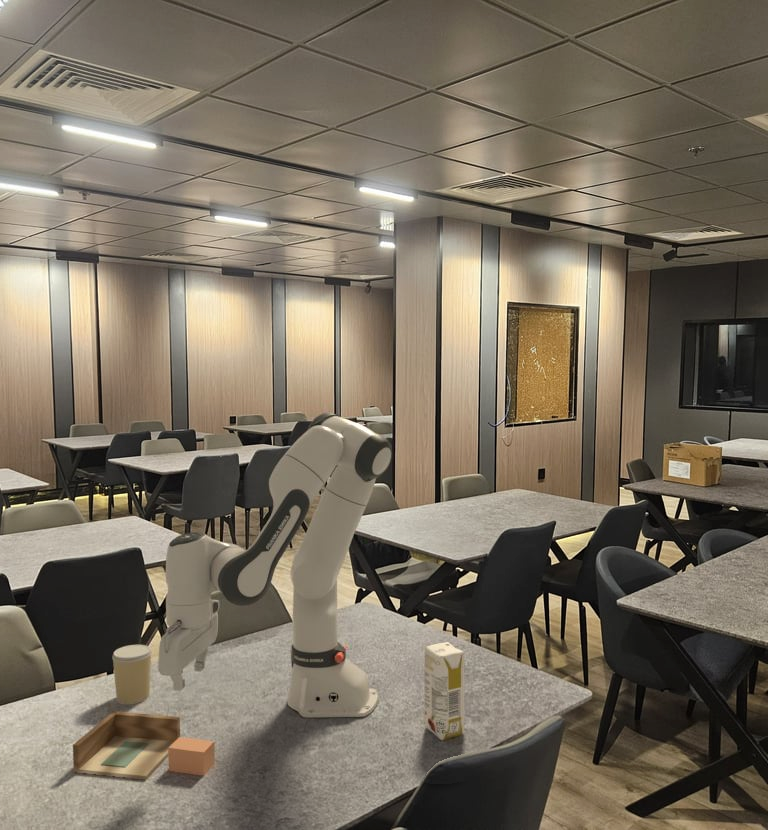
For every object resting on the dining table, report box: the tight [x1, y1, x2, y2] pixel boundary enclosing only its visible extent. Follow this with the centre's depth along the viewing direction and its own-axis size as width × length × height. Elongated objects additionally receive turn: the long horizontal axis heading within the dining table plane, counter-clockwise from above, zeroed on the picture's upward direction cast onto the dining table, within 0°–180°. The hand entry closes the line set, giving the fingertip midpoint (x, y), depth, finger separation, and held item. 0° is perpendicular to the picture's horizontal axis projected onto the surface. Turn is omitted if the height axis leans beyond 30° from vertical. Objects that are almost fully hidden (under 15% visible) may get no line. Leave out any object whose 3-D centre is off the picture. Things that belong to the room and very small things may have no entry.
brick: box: [167, 736, 216, 776], centre depth 149 cm, size 8×4×5 cm, turn 76°
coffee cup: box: [111, 644, 153, 705], centre depth 182 cm, size 9×9×12 cm
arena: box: [72, 710, 181, 781], centre depth 153 cm, size 16×15×6 cm
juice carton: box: [424, 641, 466, 741], centre depth 164 cm, size 8×9×19 cm
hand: (189, 679), depth 148 cm, fingers open, 8 cm apart
